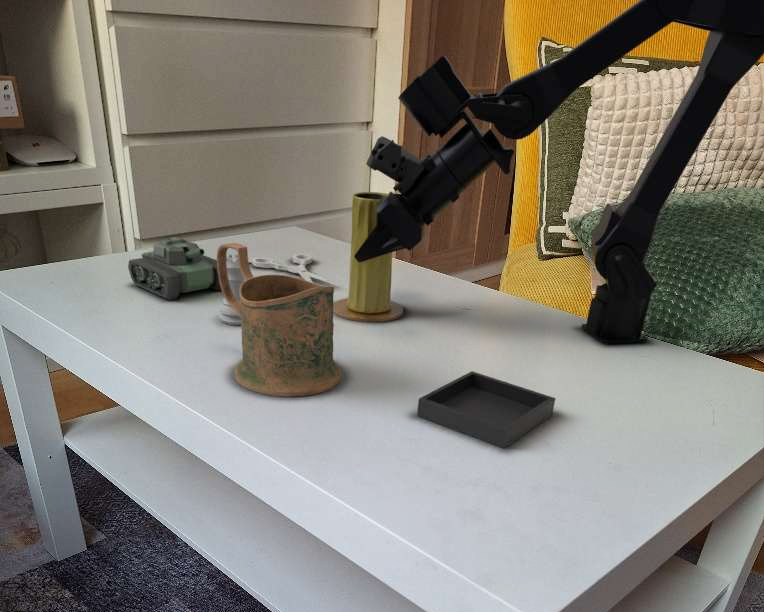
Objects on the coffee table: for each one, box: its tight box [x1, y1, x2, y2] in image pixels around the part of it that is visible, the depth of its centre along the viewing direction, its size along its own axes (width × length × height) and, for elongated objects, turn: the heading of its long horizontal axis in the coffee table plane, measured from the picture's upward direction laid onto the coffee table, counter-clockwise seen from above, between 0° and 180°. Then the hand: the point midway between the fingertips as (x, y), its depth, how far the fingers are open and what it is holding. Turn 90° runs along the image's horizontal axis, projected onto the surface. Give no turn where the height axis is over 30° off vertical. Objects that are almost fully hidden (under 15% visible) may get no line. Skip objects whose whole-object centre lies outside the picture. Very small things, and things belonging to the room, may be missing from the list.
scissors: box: [248, 253, 340, 287], centre depth 113 cm, size 11×1×20 cm
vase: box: [347, 191, 393, 314], centre depth 97 cm, size 6×6×14 cm
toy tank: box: [127, 236, 222, 301], centre depth 103 cm, size 10×12×7 cm
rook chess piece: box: [219, 253, 245, 326], centre depth 92 cm, size 4×4×8 cm
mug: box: [216, 242, 342, 397], centre depth 79 cm, size 12×18×12 cm, turn 44°
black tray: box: [416, 370, 556, 449], centre depth 74 cm, size 10×10×2 cm
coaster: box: [333, 297, 404, 323], centre depth 101 cm, size 10×10×1 cm
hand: (360, 254), depth 97 cm, fingers open, 5 cm apart
